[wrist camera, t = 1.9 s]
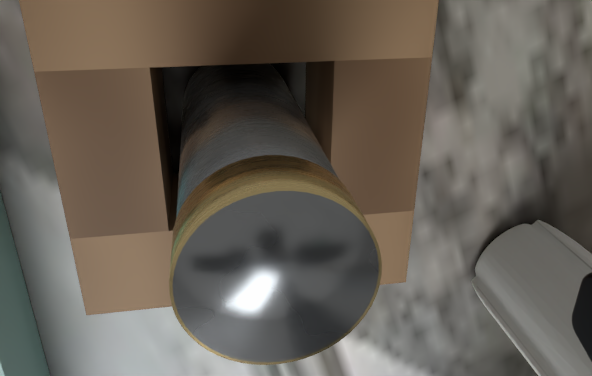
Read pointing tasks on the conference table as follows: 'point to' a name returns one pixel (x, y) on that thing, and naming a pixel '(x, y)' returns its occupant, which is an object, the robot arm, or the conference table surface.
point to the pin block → (219, 51)
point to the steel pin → (263, 225)
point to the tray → (16, 313)
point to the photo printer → (536, 295)
